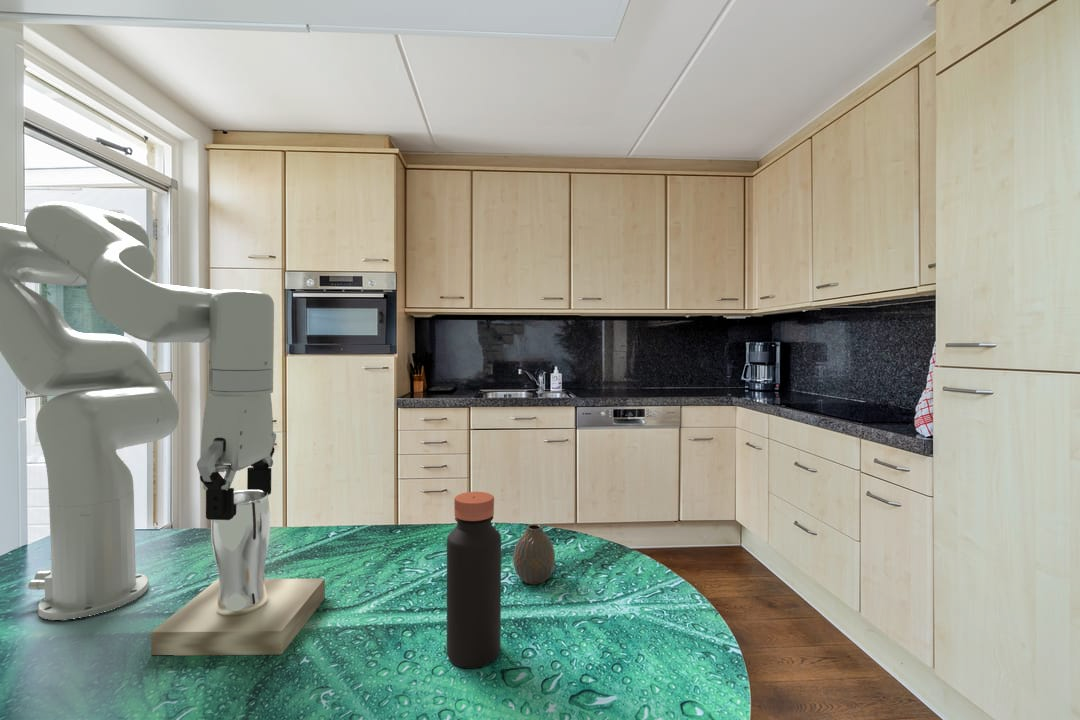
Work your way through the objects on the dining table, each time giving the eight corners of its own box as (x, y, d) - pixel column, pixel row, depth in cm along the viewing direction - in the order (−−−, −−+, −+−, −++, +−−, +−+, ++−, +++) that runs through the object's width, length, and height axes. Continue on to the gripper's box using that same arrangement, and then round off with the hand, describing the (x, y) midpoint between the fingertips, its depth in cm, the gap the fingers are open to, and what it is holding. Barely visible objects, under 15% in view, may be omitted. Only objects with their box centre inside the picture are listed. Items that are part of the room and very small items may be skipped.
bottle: (486, 675, 61) (486, 509, 60) (436, 662, 63) (436, 502, 62) (509, 643, 67) (510, 492, 66) (463, 632, 70) (463, 486, 69)
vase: (506, 583, 84) (506, 530, 83) (523, 566, 90) (523, 517, 90) (545, 592, 81) (546, 537, 81) (560, 573, 87) (561, 522, 87)
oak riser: (151, 655, 64) (150, 632, 64) (218, 598, 78) (217, 579, 78) (281, 654, 65) (281, 631, 64) (324, 597, 79) (324, 578, 78)
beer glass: (244, 621, 67) (242, 507, 66) (199, 614, 68) (197, 502, 67) (282, 595, 73) (281, 491, 73) (241, 589, 75) (239, 487, 74)
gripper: (248, 375, 78) (246, 486, 79) (169, 388, 61) (169, 529, 62) (298, 377, 79) (296, 488, 79) (234, 390, 61) (233, 531, 62)
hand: (240, 506), depth 71 cm, fingers open, 9 cm apart
